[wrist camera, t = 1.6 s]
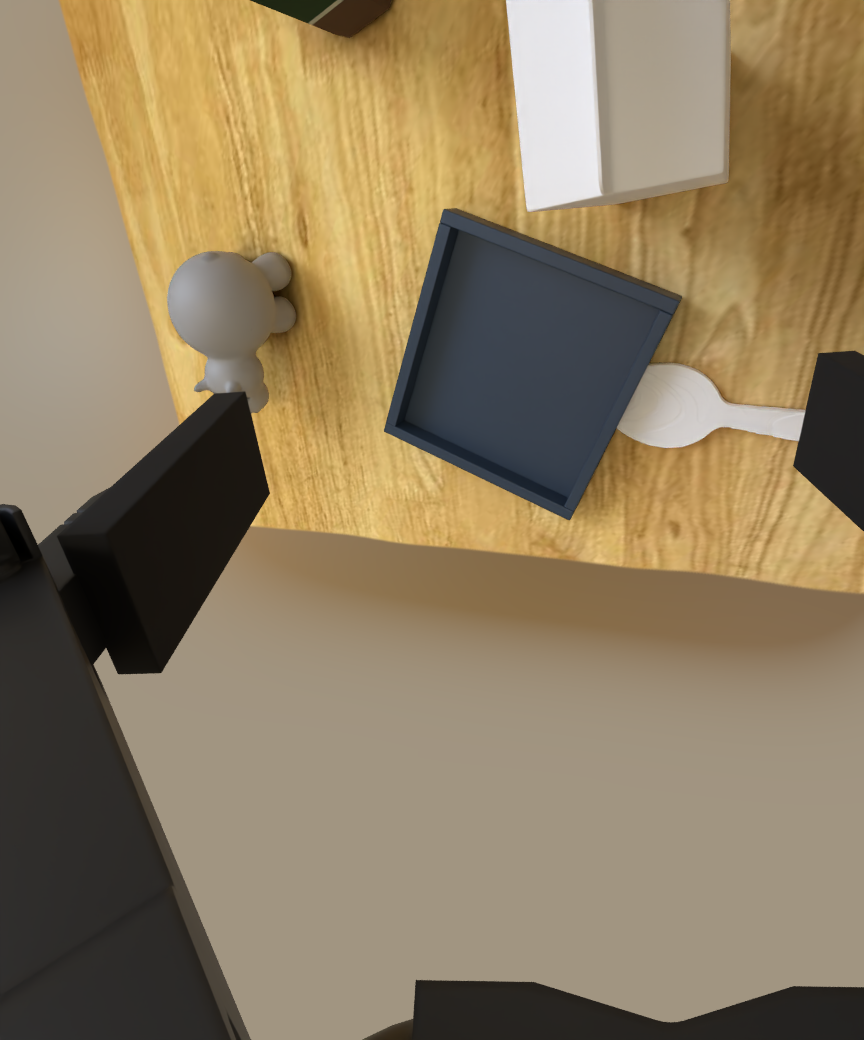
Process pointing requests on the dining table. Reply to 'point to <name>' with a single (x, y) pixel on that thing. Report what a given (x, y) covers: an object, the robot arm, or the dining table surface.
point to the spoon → (695, 410)
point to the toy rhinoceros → (231, 317)
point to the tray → (523, 359)
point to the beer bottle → (331, 13)
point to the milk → (620, 98)
